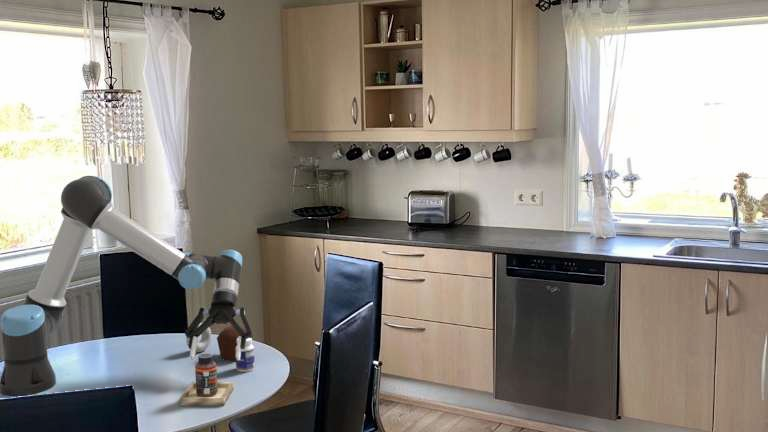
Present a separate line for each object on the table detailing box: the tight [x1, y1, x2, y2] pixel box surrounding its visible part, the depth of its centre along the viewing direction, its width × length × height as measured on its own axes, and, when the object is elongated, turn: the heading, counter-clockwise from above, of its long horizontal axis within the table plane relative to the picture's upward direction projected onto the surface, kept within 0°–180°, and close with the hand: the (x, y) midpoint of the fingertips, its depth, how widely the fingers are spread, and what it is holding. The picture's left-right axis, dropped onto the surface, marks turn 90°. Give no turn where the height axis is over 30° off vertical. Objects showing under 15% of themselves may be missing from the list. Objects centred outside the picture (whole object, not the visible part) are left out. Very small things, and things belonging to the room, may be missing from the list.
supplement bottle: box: [194, 353, 218, 397], centre depth 213 cm, size 6×6×11 cm
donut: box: [185, 322, 212, 354], centre depth 253 cm, size 10×3×10 cm, turn 146°
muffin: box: [216, 325, 247, 362], centre depth 248 cm, size 12×11×10 cm
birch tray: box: [179, 381, 234, 407], centre depth 214 cm, size 12×12×2 cm
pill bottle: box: [235, 337, 256, 373], centre depth 236 cm, size 6×6×10 cm
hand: (214, 358), depth 222 cm, fingers open, 13 cm apart
